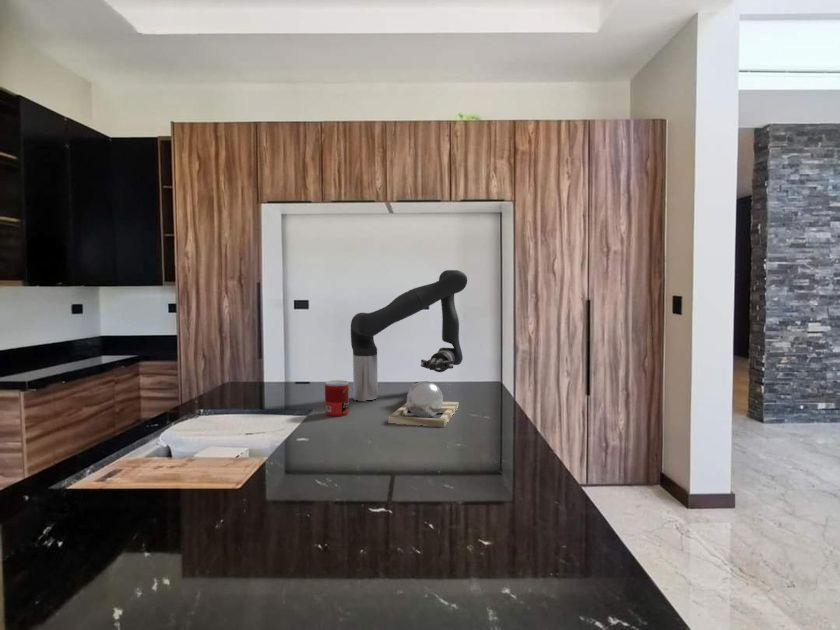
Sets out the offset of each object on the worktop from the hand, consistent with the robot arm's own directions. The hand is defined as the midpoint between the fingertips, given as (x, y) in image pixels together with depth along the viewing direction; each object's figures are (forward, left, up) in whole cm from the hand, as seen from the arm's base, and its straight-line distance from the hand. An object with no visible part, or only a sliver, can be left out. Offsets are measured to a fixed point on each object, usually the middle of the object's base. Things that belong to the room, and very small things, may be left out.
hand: (431, 367), depth 184 cm
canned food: (-9, -32, -15) cm, 37 cm away
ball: (+10, -9, -9) cm, 16 cm away
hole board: (+8, -7, -15) cm, 18 cm away
